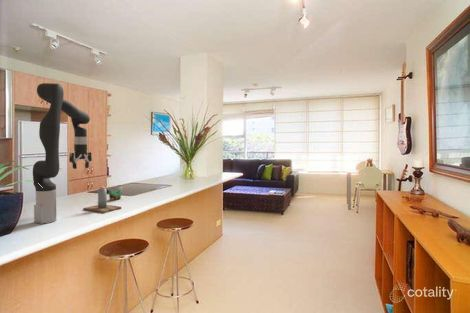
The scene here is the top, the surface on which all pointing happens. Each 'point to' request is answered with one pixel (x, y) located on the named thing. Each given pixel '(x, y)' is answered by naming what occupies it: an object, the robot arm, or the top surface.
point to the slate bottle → (102, 197)
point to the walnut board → (102, 209)
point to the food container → (115, 193)
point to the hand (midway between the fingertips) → (80, 168)
